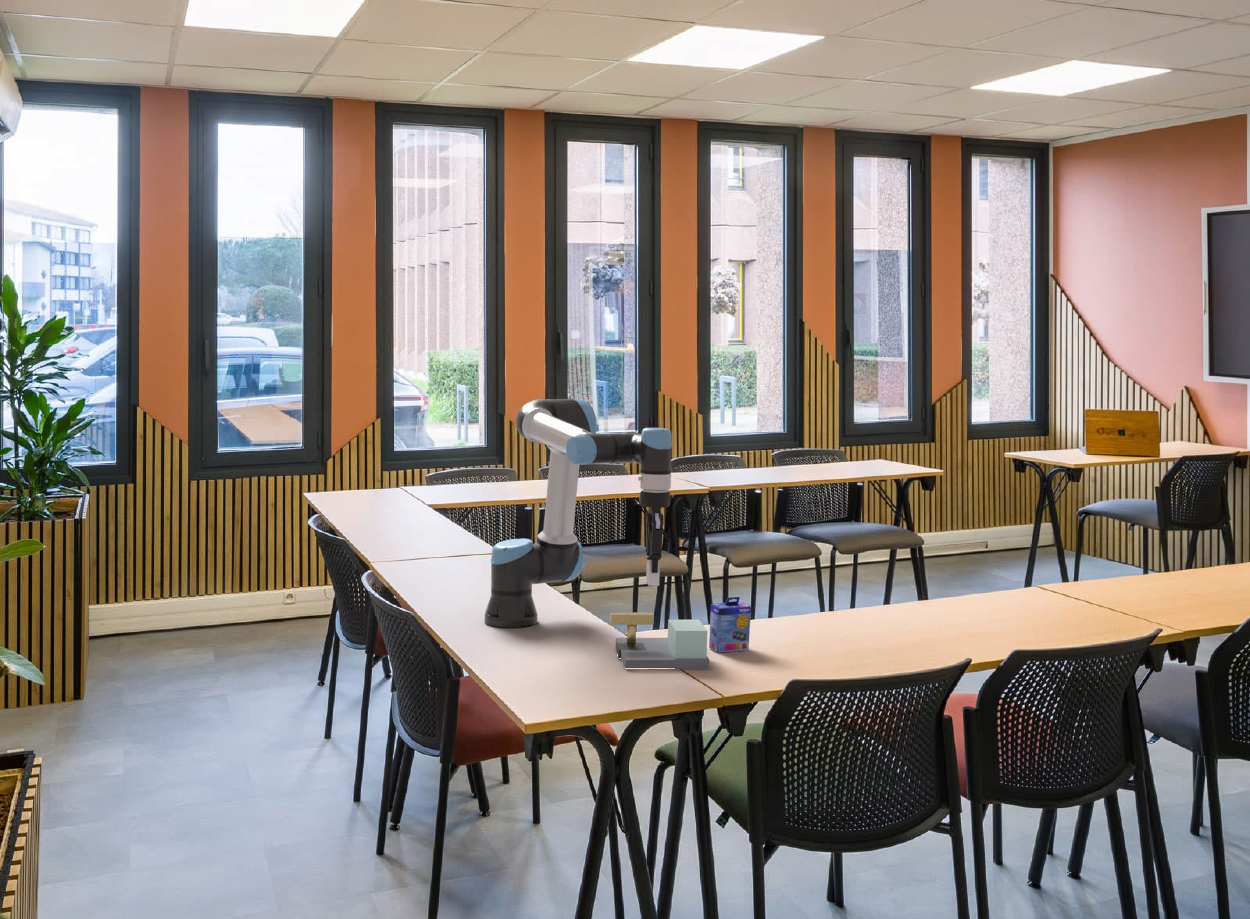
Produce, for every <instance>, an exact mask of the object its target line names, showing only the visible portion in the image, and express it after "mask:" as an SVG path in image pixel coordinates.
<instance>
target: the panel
mask: <svg viewBox="0 0 1250 919" xmlns="http://www.w3.org/2000/svg"><path fill="white" fill-rule="evenodd" d="M626 643H627V637H615V653H616V652H617V654H618V657H617V658H621V660H622V661H621V660H620V661H621V663H622V662H623V664H622V666H623V665H624V666H623V668H624V667H625V668H675V669H678V671H679V670H680V671H681V670H685V671H686V670H710V659H709V657H708V656H707V658H693V659H675V658H674V656H673V655H672V653H671V651H670V650H669V648H668V637H636V645H635V646H628V645H626ZM617 654H616V655H617Z"/></svg>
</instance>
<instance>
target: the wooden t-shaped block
mask: <svg viewBox="0 0 1250 919" xmlns="http://www.w3.org/2000/svg"><path fill="white" fill-rule="evenodd" d="M654 617H655V615H654V613H653V612H609V624H610V625H611V626H618V625H619V626H623V625H624V626H626V638H627V643H626V645H628V646H635V645H636V638H637V626H643V625H644V626H648V625H649V626H652V625H654V621H655V620H654V619H655V618H654Z"/></svg>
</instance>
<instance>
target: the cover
mask: <svg viewBox="0 0 1250 919" xmlns="http://www.w3.org/2000/svg"><path fill="white" fill-rule="evenodd" d="M667 621H668V622H667V638H668V648H669V650H670V651H671V653H672V655H673V656H674V658H675V659H693V658H707V657H708V656H707V654H708V633H709V632H708V629H707V628H706V627H705V625H704V624H703V623H702V622H701V620H700V619H668V620H667Z"/></svg>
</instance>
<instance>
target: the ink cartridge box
mask: <svg viewBox="0 0 1250 919" xmlns="http://www.w3.org/2000/svg"><path fill="white" fill-rule="evenodd" d="M740 597H741V596H733V597H727V599H726V601H725V602H718V603H710V614H709V615H710V616H709V619H710V620H709V621H710V622H709V638H708V639H709V640H708V641H709V642H708V643H709V644H708V647H709V648H708V649H710V650H712V651H714V652H715V653H717V654H721V653H731V652H732V653H733V652H743V651H744V652H747V651H749V649H750V632H751V631H750V630H751V614H752V612H751V611H752V606H751V605H749V604H747V603H745V602H743V601H740V599H741V598H740ZM734 600H735V601H734Z"/></svg>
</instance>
